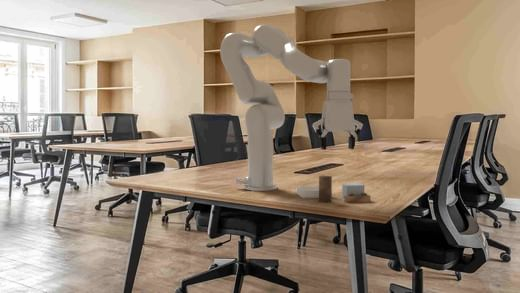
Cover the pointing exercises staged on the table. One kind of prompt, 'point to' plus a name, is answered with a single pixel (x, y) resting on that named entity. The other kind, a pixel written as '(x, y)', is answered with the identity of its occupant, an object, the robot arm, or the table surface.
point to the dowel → (325, 188)
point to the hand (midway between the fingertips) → (337, 149)
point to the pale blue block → (352, 189)
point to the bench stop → (357, 198)
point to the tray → (308, 191)
